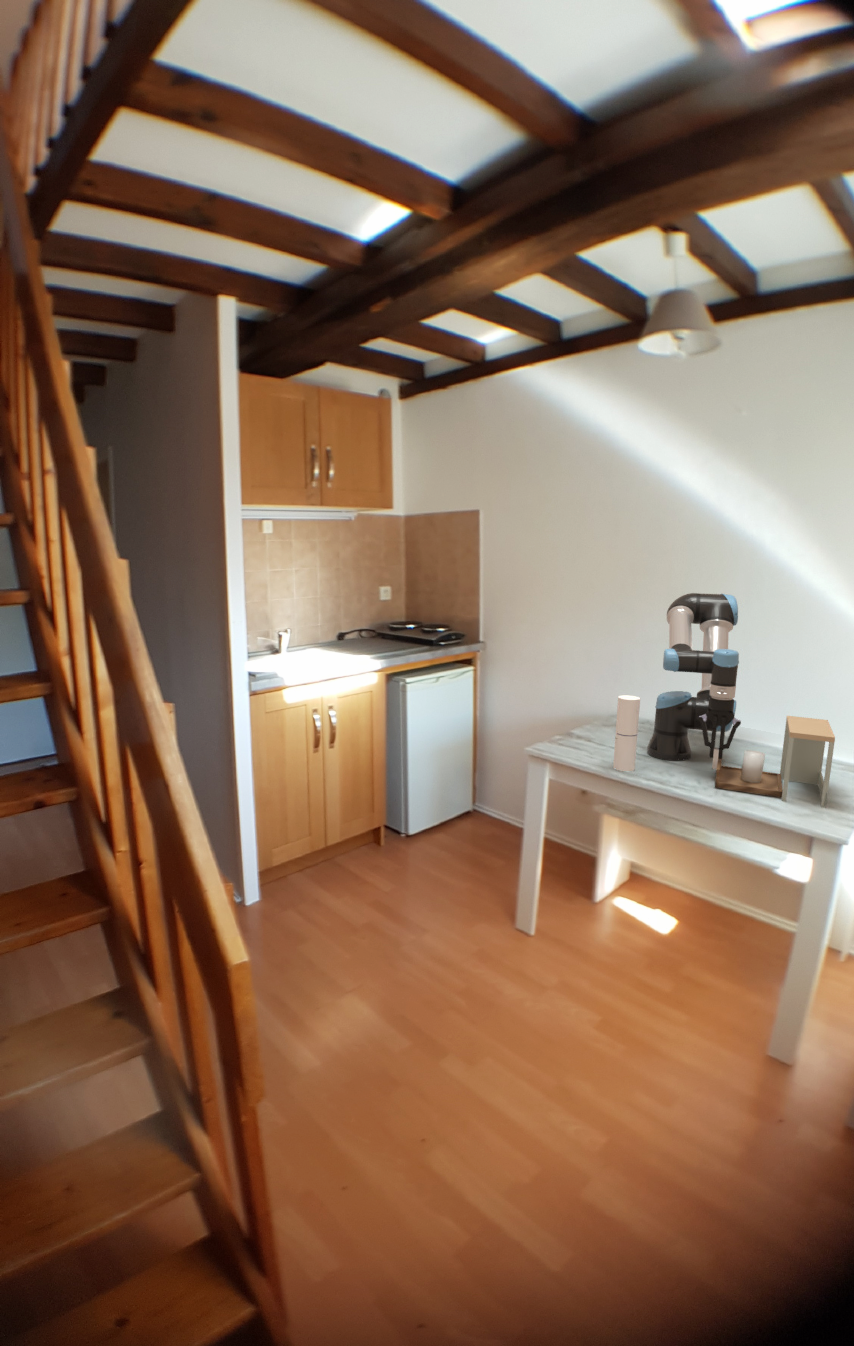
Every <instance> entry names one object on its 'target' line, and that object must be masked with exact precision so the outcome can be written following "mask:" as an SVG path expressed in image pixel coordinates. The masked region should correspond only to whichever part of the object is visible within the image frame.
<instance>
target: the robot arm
mask: <svg viewBox="0 0 854 1346" xmlns="http://www.w3.org/2000/svg"><path fill="white" fill-rule="evenodd" d="M738 620H739V607H738V601H737V598H736V597H735V596H734V595H732V594H725V593H699V592H698V593H697V592H692V593H690V592H689V593H686V594H683V595H680V597H678V598H676V599H675V600H674V601H673V602H671V604H670V605H669V606H668V609H667V611H666V621H667V623H668V624H669V631H668V632H669V636H668V637H669V641H668V642H669V643H668V644H669V645H668V646H669V648H665V649H664V650H663V659H662V660H663V661H662V668H663V670H665V671H670V672H674V673H675V672H676V673H677V672H678V673H679V672H681V673H693V674H695V673H696V674H701V688H700V690H698V692H697V693H696V696H693V695H692V693H691V692H689V691H683V690H682V691H681V690H675V691H674V690H673V691H665V692H663V693H660V694H659V695H657V697H656V704H655V713H654V715H655V717H654V725H653V727H654V728H653V734H652V736H651V738H650V741H649V742H648V745H647V748H646V749H647V750H646V753H647V754H648V755H649V756H650V757H653V758H656V759H659V760H665V761H672V762H673V761H674V762H675V761H676V762H677V761H687V760H689V759H691V757H692V749H691V745H690V741H689V737H688V733H689V732H688V731H689V730H695V731H696V730H697V731H698V730H699V731H702V736H703V742H704V746H706V747H708V748H709V758H710V759H712V765H711V766H712V768H711V769H713V770H717V764H718V759H722V760H723V752H724V750H729V749H730V747H731V744H732V741H733V739H734V737H735V734H736V731H737V729H738V727H740V726H741V724H742V720H741V719H739V718H736V716H735V714H736V709H737V700H735V699H734V698H735V697H736V688H737V678H738V669H739V664H740V661H739V660H740V659H739V658H740V654H739V652H738V651H737V650H734V649H729V633H730V632H732V630H733V628H734V626H736V625H738ZM692 624H696V625H699V630H700V631H701V632H702V633H703V642H702V645H703V646H702V650H698V649H697V650H694V649H693V637H692V636H693V635H692V634H693V631H692ZM709 731H710V732H711V739H709V733H708V732H709ZM729 731H730V732H729ZM717 732H720V735H719V744H718V745H719V746H718V747H715V746H716V739H717ZM726 732H729V735H728V738H727V740H726V742H725V734H726ZM724 743H725V744H724Z"/></svg>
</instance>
